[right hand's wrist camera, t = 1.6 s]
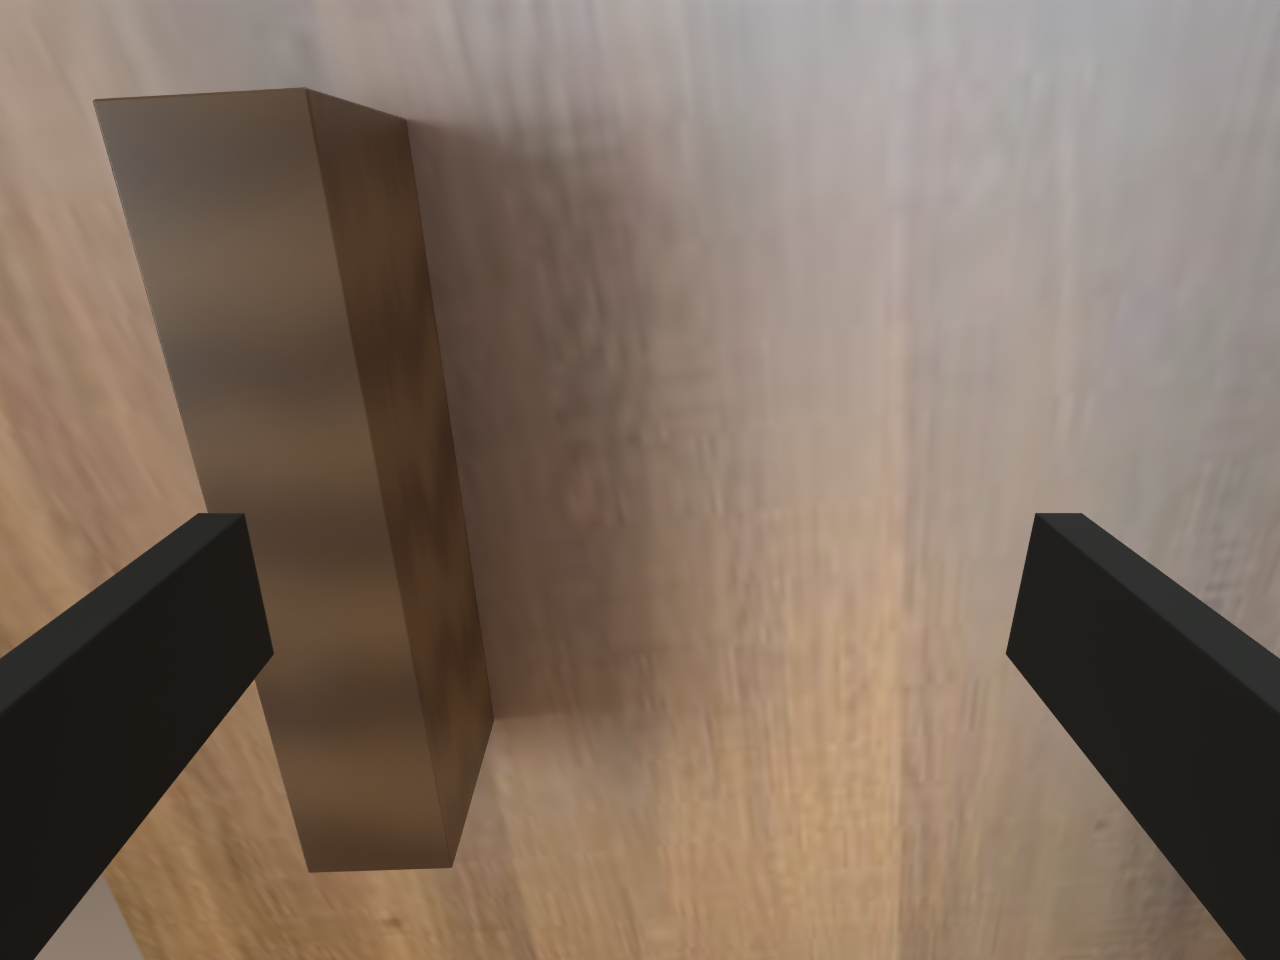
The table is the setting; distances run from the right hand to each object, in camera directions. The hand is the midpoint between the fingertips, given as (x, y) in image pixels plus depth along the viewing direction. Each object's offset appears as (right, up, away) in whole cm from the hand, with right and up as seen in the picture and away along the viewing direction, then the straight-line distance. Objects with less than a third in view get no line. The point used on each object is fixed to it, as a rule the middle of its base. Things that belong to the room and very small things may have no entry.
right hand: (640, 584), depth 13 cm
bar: (-11, +2, +19) cm, 22 cm away
